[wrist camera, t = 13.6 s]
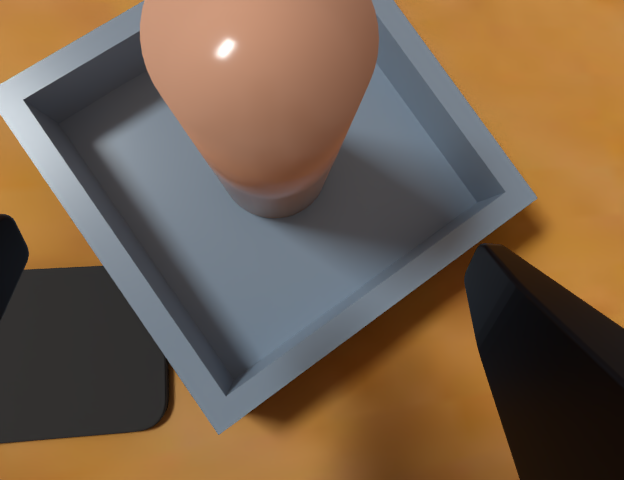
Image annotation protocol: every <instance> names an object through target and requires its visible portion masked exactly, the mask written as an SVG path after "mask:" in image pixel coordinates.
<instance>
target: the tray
mask: <svg viewBox="0 0 624 480" xmlns="http://www.w3.org/2000/svg"><path fill="white" fill-rule="evenodd" d="M144 1H145V0H144ZM144 1H143V2H141V3H139V4H138V5H136V6H134V7H132V8H131V9H129V10H127V11H126V12H124V13H122V14H120V15H119V16H117V17H115V18H113V19H112V20H110V21H108V22H107V23H105V24H103V25H101V26H100V27H98V28H96V29H94V30H93V31H91V32H89V33H88V34H86V35H84V36H82V37H81V38H79V39H77V40H76V41H74V42H72V43H70V44H69V45H67V46H65V47H63V48H62V49H60V50H58V51H57V52H55V53H53V54H51V55H50V56H48V57H46V58H45V59H43V60H41V61H39V62H38V63H36V64H34V65H32V66H31V67H29V68H27V69H26V70H24V71H22V72H20V73H19V74H17V75H15V76H14V77H12V78H10V79H8V80H7V81H5V82H3V83H1V84H0V114H1V116H2V117H3V119H4V120H5V122H6V123H7V125H8V126H9V128H10V129H11V131H12V132H13V134H14V135H15V137H16V138H17V139H18V141H19V142H20V144H21V145H22V147H23V148H24V150H25V151H26V153H27V154H28V156H29V157H30V159H31V160H32V161H33V163H34V164H35V166H36V167H37V169H38V170H39V172H40V173H41V175H42V176H43V178H44V179H45V181H46V182H47V184H48V185H49V186H50V188H51V189H52V191H53V192H54V194H55V195H56V197H57V198H58V200H59V201H60V203H61V204H62V206H63V207H64V208H65V210H66V211H67V213H68V214H69V216H70V217H71V219H72V220H73V222H74V223H75V225H76V226H77V228H78V229H79V231H80V232H81V233H82V235H83V236H84V238H85V239H86V241H87V242H88V244H89V245H90V247H91V248H92V250H93V251H94V253H95V254H96V256H97V257H98V258H99V260H100V261H101V263H102V264H103V266H104V267H105V269H106V270H107V272H108V273H109V275H110V276H111V278H112V279H113V280H114V282H115V283H116V285H117V286H118V288H119V289H120V291H121V292H122V294H123V295H124V297H125V298H126V300H127V301H128V303H129V304H130V305H131V307H132V308H133V310H134V311H135V313H136V314H137V316H138V317H139V319H140V320H141V322H142V323H143V325H144V326H145V328H146V329H147V330H148V332H149V333H150V335H151V336H152V338H153V339H154V341H155V342H156V344H157V345H158V347H159V348H160V350H161V351H162V352H163V354H164V355H165V357H166V358H167V360H168V361H169V363H170V364H171V366H172V367H173V369H174V370H175V372H176V373H177V375H178V376H179V377H180V379H181V380H182V382H183V383H184V385H185V386H186V388H187V389H188V391H189V392H190V394H191V395H192V397H193V398H194V399H195V401H196V402H197V404H198V405H199V407H200V408H201V410H202V411H203V413H204V414H205V416H206V417H207V419H208V420H209V422H210V423H211V424H212V426H213V427H214V429H215V430H216V432H217V433H218V435H219V434H221V433H222V432H223V431H225V430H226V429H227V428H229V427H230V426H231V425H233V424H234V423H235V422H237V421H238V420H240V419H241V418H242V417H244V416H245V415H246V414H248V413H249V412H250V411H252V410H253V409H254V408H256V407H257V406H258V405H260V404H261V403H262V402H264V401H265V400H266V399H268V398H269V397H270V396H272V395H273V394H275V393H276V392H277V391H279V390H280V389H281V388H283V387H284V386H285V385H287V384H288V383H289V382H291V381H292V380H293V379H295V378H296V377H297V376H299V375H300V374H301V373H303V372H304V371H306V370H307V369H308V368H310V367H311V366H312V365H314V364H315V363H316V362H318V361H319V360H320V359H322V358H323V357H324V356H326V355H327V354H328V353H330V352H331V351H332V350H334V349H335V348H337V347H338V346H339V345H341V344H342V343H343V342H345V341H346V340H347V339H349V338H350V337H351V336H353V335H354V334H355V333H357V332H358V331H359V330H361V329H362V328H363V327H365V326H366V325H367V324H369V323H370V322H372V321H373V320H374V319H376V318H377V317H378V316H380V315H381V314H382V313H384V312H385V311H386V310H388V309H389V308H390V307H392V306H393V305H394V304H396V303H397V302H398V301H400V300H401V299H403V298H404V297H405V296H407V295H408V294H409V293H411V292H412V291H413V290H415V289H416V288H417V287H419V286H420V285H421V284H423V283H424V282H425V281H427V280H428V279H429V278H431V277H432V276H433V275H435V274H436V273H438V272H439V271H440V270H442V269H443V268H444V267H446V266H447V265H448V264H450V263H451V262H452V261H454V260H455V259H456V258H458V257H459V256H460V255H462V254H463V253H464V252H466V251H467V250H469V249H470V248H471V247H473V246H474V245H475V244H477V243H478V242H479V241H481V240H482V239H483V238H485V237H486V236H487V235H489V234H490V233H491V232H493V231H494V230H495V229H497V228H498V227H500V226H501V225H502V224H504V223H505V222H506V221H508V220H509V219H510V218H512V217H513V216H514V215H516V214H517V213H518V212H520V211H521V210H522V209H524V208H525V207H526V206H528V205H529V204H530V203H532V202H533V201H535V200H536V199H537V196H536V195H535V194H534V192H533V191H532V190H531V188H530V187H529V185H528V184H527V183H526V181H525V180H524V179H523V177H522V176H521V175H520V173H519V172H518V170H517V169H516V168H515V166H514V165H513V164H512V162H511V161H510V159H509V158H508V157H507V155H506V154H505V153H504V151H503V150H502V148H501V147H500V146H499V144H498V143H497V142H496V140H495V139H494V138H493V136H492V135H491V133H490V132H489V131H488V129H487V128H486V127H485V125H484V124H483V122H482V121H481V120H480V118H479V117H478V116H477V114H476V113H475V111H474V110H473V109H472V107H471V106H470V105H469V103H468V102H467V101H466V99H465V98H464V96H463V95H462V94H461V92H460V91H459V90H458V88H457V87H456V85H455V84H454V83H453V81H452V80H451V79H450V77H449V76H448V74H447V73H446V72H445V70H444V69H443V68H442V66H441V65H440V64H439V62H438V61H437V59H436V58H435V57H434V55H433V54H432V53H431V51H430V50H429V48H428V47H427V46H426V44H425V43H424V42H423V40H422V39H421V37H420V36H419V35H418V33H417V32H416V31H415V29H414V28H413V27H412V25H411V24H410V22H409V21H408V20H407V18H406V17H405V16H404V14H403V13H402V11H401V10H400V9H399V7H398V6H397V5H396V3H395V2H394V0H372V3H373V6H374V9H375V12H376V17H377V22H378V31H379V47H378V56H377V61H376V65H375V69H374V72H373V75H372V78H371V80H370V83H369V85H368V87H367V90H366V92H365V94H364V96H363V99H362V101H361V103H360V105H359V108H358V110H357V112H356V114H355V117H354V119H353V121H352V123H351V126H350V128H349V130H348V132H347V135H346V137H345V139H344V141H343V144H342V146H341V148H340V150H339V153H338V155H337V157H336V159H335V162H334V164H333V166H332V168H331V171H330V173H329V175H328V177H327V180H326V182H325V184H324V186H323V188H322V190H321V192H320V194H319V195H318V197H317V198H316V199H315V200H314V202H313V203H312V204H311V205H309V206H308V207H307V208H306V209H304V210H302V211H301V212H299V213H297V214H295V215H292V216H288V217H284V218H265V217H260V216H257V215H254V214H252V213H250V212H248V211H246V210H244V209H243V208H241V207H240V206H239V205H238V204H237V203H236V202H235V201H234V200H233V199H232V198H231V197H230V195H229V194H228V192H227V191H226V190H225V188H224V187H223V185H222V184H221V182H220V181H219V179H218V178H217V176H216V175H215V174H214V172H213V171H212V169H211V168H210V166H209V165H208V163H207V162H206V161H205V159H204V158H203V156H202V155H201V153H200V152H199V150H198V149H197V147H196V146H195V145H194V143H193V142H192V140H191V139H190V137H189V136H188V134H187V133H186V132H185V130H184V129H183V127H182V126H181V124H180V123H179V121H178V120H177V118H176V117H175V116H174V114H173V113H172V111H171V110H170V108H169V107H168V105H167V104H166V103H165V101H164V100H163V98H162V97H161V95H160V94H159V92H158V90H157V89H156V87H155V86H154V84H153V82H152V80H151V78H150V75H149V73H148V71H147V69H146V65H145V62H144V58H143V55H142V49H141V42H140V21H141V13H142V8H143V4H144Z"/></svg>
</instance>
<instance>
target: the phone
mask: <svg viewBox="0 0 624 480" xmlns="http://www.w3.org/2000/svg"><path fill="white" fill-rule="evenodd" d="M168 401H169V374H168V360H167V358H166V357H165V355H164V354H163V352H162V351H161V350H160V348H159V347H158V345H157V344H156V342H155V341H154V339H153V338H152V336H151V335H150V333H149V332H148V330H147V329H146V328H145V326H144V325H143V323H142V322H141V320H140V319H139V317H138V316H137V314H136V313H135V311H134V310H133V308H132V307H131V305H130V304H129V303H128V301H127V300H126V298H125V297H124V295H123V294H122V292H121V291H120V289H119V288H118V286H117V285H116V283H115V282H114V280H113V279H112V278H111V276H110V275H109V273H108V272H107V270H106V269H105V267H104V266H91V267H70V268H50V269H30V270H23V272H22V274H21V277H20V279H19V281H18V283H17V286H16V288H15V290H14V292H13V295H12V297H11V299H10V301H9V304H8V306H7V308H6V310H5V313H4V315H3V317H2V319H1V321H0V443H10V442H21V441H33V440H45V439H56V438H68V437H80V436H92V435H103V434H115V433H126V432H136V431H142V430H146V429H148V428H151V427H152V426H154V425H155V424H157V423H158V422H159V421H160V419H161V418H162V417H163V416H164V414H165V412H166V410H167V406H168Z"/></svg>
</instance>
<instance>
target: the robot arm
mask: <svg viewBox="0 0 624 480" xmlns="http://www.w3.org/2000/svg"><path fill="white" fill-rule="evenodd" d="M28 256H29V251H28V247H27V245H26V243H25V241H24V239H23V237H22V235H21V233H20V231H19V229H18V227H17V225H16V223H15V221H14V219H13V218H12V217H10V216H9V215H6V214H0V321H1V319H2V317H3V315H4V313H5V310H6V308H7V306H8V304H9V301H10V299H11V297H12V295H13V292H14V290H15V288H16V286H17V283H18V281H19V279H20V277H21V274H22V272H23V270H24V268H25V265H26V263H27V261H28ZM464 282H465V288H466V293H467V298H468V303H469V308H470V313H471V318H472V323H473V328H474V333H475V338H476V342H477V347H478V351H479V354H480V357H481V361H482V364H483V367H484V370H485V373H486V376H487V379H488V382H489V386H490V389H491V392H492V395H493V398H494V401H495V404H496V407H497V410H498V413H499V416H500V420H501V423H502V426H503V429H504V432H505V435H506V438H507V441H508V444H509V447H510V450H511V454H512V457H513V460H514V463H515V466H516V469H517V472H518V475H519V478H520V480H624V328H622V327H621V326H619V325H618V324H616V323H615V322H614V321H612V320H611V319H609V318H608V317H606V316H605V315H603V314H602V313H600V312H599V311H598V310H596V309H595V308H593V307H592V306H590V305H589V304H587V303H586V302H585V301H583V300H582V299H580V298H579V297H577V296H576V295H574V294H573V293H571V292H570V291H569V290H567V289H566V288H564V287H563V286H561V285H560V284H558V283H557V282H556V281H554V280H553V279H551V278H550V277H548V276H547V275H545V274H544V273H542V272H541V271H540V270H538V269H537V268H535V267H534V266H532V265H531V264H529V263H528V262H527V261H525V260H524V259H522V258H521V257H519V256H518V255H516V254H515V253H513V252H512V251H511V250H509V249H508V248H506V247H505V246H503V245H500V244H486V243H484V244H481V245H479V246H478V248H477V249H476V251H475V253H474V255H473V258H472V260H471V262H470V264H469V266H468V268H467V270H466V273H465V278H464Z"/></svg>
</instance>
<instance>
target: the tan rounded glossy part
mask: <svg viewBox="0 0 624 480" xmlns="http://www.w3.org/2000/svg"><path fill="white" fill-rule="evenodd" d="M140 42H141V49H142V55H143V58H144V62H145V65H146V69H147V71H148V73H149V75H150V78H151V80H152V82H153V84H154V86H155V87H156V89H157V90H158V92H159V94H160V95H161V97H162V98H163V100H164V101H165V103H166V104H167V105H168V107H169V108H170V110H171V111H172V113H173V114H174V116H175V117H176V118H177V120H178V121H179V123H180V124H181V126H182V127H183V129H184V130H185V132H186V133H187V134H188V136H189V137H190V139H191V140H192V142H193V143H194V145H195V146H196V147H197V149H198V150H199V152H200V153H201V155H202V156H203V158H204V159H205V161H206V162H207V163H208V165H209V166H210V168H211V169H212V171H213V172H214V174H215V175H216V176H217V178H218V179H219V181H220V182H221V184H222V185H223V187H224V188H225V190H226V191H227V192H228V194H229V195H230V197H231V198H232V199H233V200H234V201H235V202H236V203H237V204H238V205H239V206H240V207H241V208H243V209H244V210H246V211H248V212H250V213H252V214H254V215H257V216H260V217H265V218H284V217H288V216H292V215H295V214H297V213H299V212H301V211H302V210H304V209H306V208H307V207H308V206H309V205H311V204H312V203H313V202H314V200H315V199H316V198H317V197H318V195H319V194H320V192H321V190H322V188H323V186H324V184H325V182H326V180H327V177H328V175H329V173H330V171H331V168H332V166H333V164H334V162H335V159H336V157H337V155H338V153H339V150H340V148H341V146H342V144H343V141H344V139H345V137H346V135H347V132H348V130H349V128H350V126H351V123H352V121H353V119H354V117H355V114H356V112H357V110H358V108H359V105H360V103H361V101H362V99H363V96H364V94H365V92H366V90H367V87H368V85H369V83H370V80H371V78H372V75H373V72H374V69H375V65H376V61H377V56H378V47H379V31H378V22H377V17H376V12H375V9H374V6H373V3H372V0H145V1H144V4H143V8H142V13H141V21H140Z"/></svg>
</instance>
